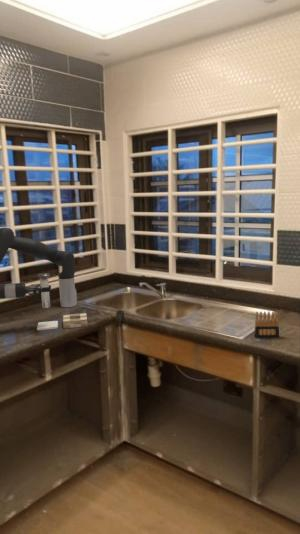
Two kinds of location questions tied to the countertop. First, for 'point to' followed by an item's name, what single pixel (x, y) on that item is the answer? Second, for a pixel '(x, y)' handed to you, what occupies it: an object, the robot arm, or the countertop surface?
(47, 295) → the steel hook peg
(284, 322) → the countertop surface
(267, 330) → the ammunition clip
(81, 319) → the eye block
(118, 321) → the hand tool
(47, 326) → the pad
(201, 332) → the countertop surface
